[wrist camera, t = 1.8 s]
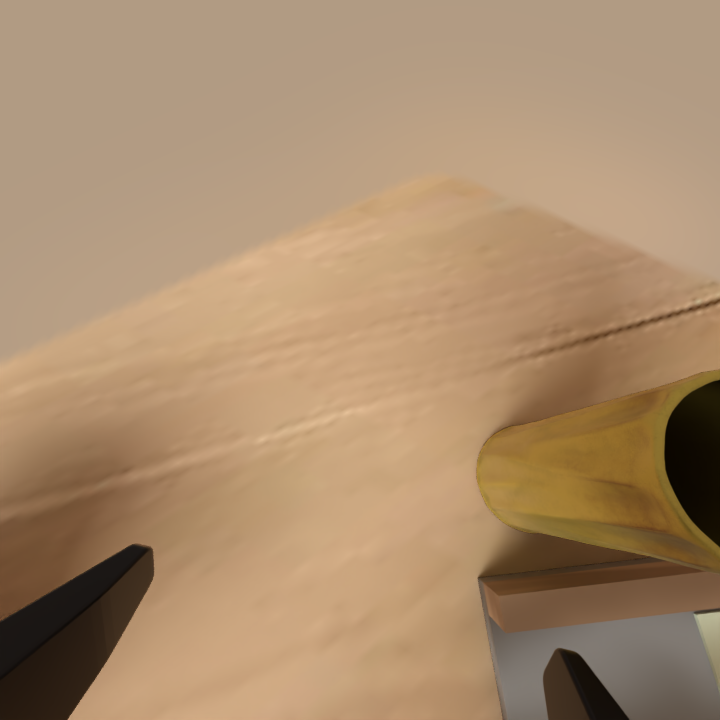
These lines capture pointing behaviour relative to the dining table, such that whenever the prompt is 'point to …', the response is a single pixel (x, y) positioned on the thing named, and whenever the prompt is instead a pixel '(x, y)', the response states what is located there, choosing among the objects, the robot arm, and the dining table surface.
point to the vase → (618, 473)
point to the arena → (609, 635)
